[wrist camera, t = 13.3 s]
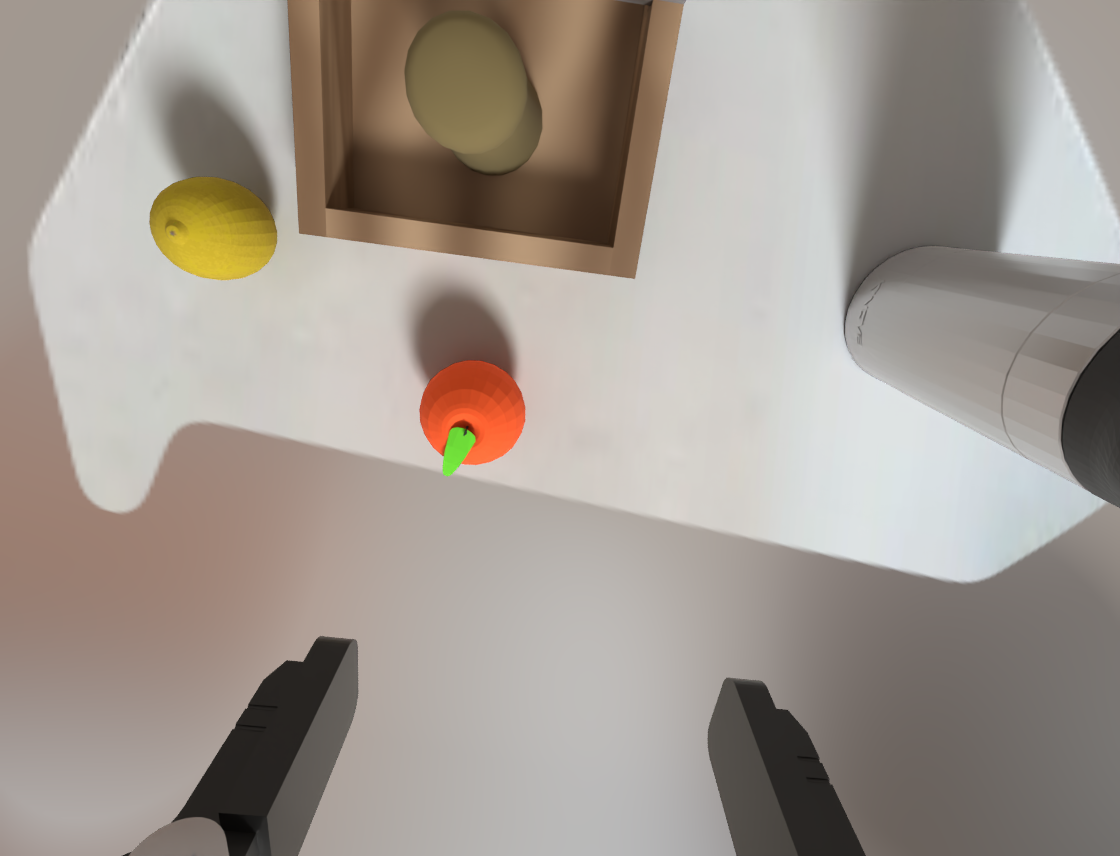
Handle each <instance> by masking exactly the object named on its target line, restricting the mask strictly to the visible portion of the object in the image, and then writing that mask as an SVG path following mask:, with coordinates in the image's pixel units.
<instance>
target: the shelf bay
mask: <svg viewBox="0 0 1120 856" xmlns="http://www.w3.org/2000/svg"><path fill="white" fill-rule="evenodd" d="M287 1H288V21H289V41H290V61H291V81H292V101H293V121H294V141H295V161H296V181H297V201H298V221H299V233H300V234H308V235H315V236H323V237H330V238H337V239H345V240H352V241H359V242H367V243H374V244H382V245H389V246H396V247H404V248H411V249H419V250H426V251H433V252H441V253H448V254H456V255H463V256H470V257H478V258H485V259H492V260H500V261H507V262H515V263H522V264H529V265H537V266H544V267H552V268H559V269H566V270H574V271H581V272H589V273H596V274H603V275H611V276H618V277H625V278H633V279H635V275H636V270H637V264H638V258H639V253H640V247H641V242H642V236H643V230H644V225H645V219H646V213H647V208H648V202H649V197H650V191H651V185H652V180H653V174H654V168H655V163H656V157H657V152H658V146H659V140H660V135H661V129H662V123H663V118H664V112H665V107H666V101H667V95H668V90H669V84H670V78H671V73H672V67H673V62H674V56H675V50H676V45H677V39H678V33H679V28H680V22H681V17H682V11H683V5H684V3H685V1H686V0H287ZM448 11H472V12H475V13H478V14H480V15H483V16H485V17H488V18H490V19H492V20H493V21H494V22H495V23H497V24H498V25H499V26H500V27H501V28H502V29H504V30H505V31H506V32H507V33H508V34H509V36H510V37H511V39H512V41H513V42H514V44H515V45H516V47H517V48H518V50H519V52H520V55H521V58H522V62H523V65H524V68H525V72H526V76H527V78H528V79H529V81H530V82H531V84H532V85H533V87H534V89H535V90H536V92H537V94H538V98H539V101H540V104H541V108H542V132H541V136H540V140H539V143H538V146H537V148H536V149H535V151H534V153H533V154H532V156H531V157H530V159H529V160H528V161H527V162H526V163H525V164H523V165H522V166H521V167H520V168H518V169H517V170H516V171H513V172H510V173H507V174H505V175H484V174H481V173H478V172H475V171H472V170H471V169H469V168H468V167H467V166H465V165H464V164H463V163H461V162H460V161H459V160H458V159H457V158H456V156H455V155H454V153H453V152H452V151H451V149H449V148H446V147H444V146H442V145H441V144H439V143H438V142H437V141H435V140H434V139H433V138H432V137H430V136H429V135H428V134H427V133H426V132H425V131H424V129H423V128H422V127H421V125H420V124H419V122H418V121H417V120H416V118H415V117H414V114H413V112H412V109H411V106H410V104H409V101H408V98H407V95H406V85H405V75H404V69H405V64H406V58H407V53H408V49H409V47H410V45H411V43H412V41H413V39H414V37H415V36H416V34H417V32H418V31H419V30H420V29H421V28H422V27H423V26H424V25H425V24H426V23H427V22H428V21H429V20H430V19H431V18H433V17H435V16H438V15H440V14H443V13H445V12H448Z"/></svg>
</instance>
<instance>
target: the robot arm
mask: <svg viewBox="0 0 1120 856" xmlns="http://www.w3.org/2000/svg"><path fill="white" fill-rule="evenodd" d="M845 338H846V342H847V347H848V350H849V352H850V354H851V356H852V358H853V360H854V361H855V362H856V363H857V365H858V366H859V367H860V368H861V369H862V370H864V371H865V372H867V373H868V374H870V375H871V376H873V377H875V378H876V379H878V380H880V381H882V382H884V383H886V384H888V385H890V386H891V387H893V388H895V389H897V390H899V391H901V392H902V393H904V394H906V395H908V396H910V397H912V398H913V399H915V400H917V401H919V402H921V403H923V404H925V405H927V406H928V407H930V408H932V409H934V410H936V411H938V412H940V413H942V414H944V415H945V416H947V417H949V418H951V419H953V420H955V421H957V422H959V423H961V424H962V425H964V426H966V427H968V428H970V429H972V430H974V431H976V432H977V433H979V434H981V435H983V436H985V437H987V438H989V439H991V440H993V441H994V442H996V443H998V444H1000V445H1002V446H1004V447H1006V448H1008V449H1010V450H1011V451H1013V452H1015V453H1017V454H1019V455H1021V456H1023V457H1025V458H1027V459H1028V460H1030V461H1032V462H1034V463H1036V464H1038V465H1040V466H1042V467H1044V468H1046V469H1048V470H1050V471H1052V472H1054V473H1055V474H1057V475H1059V476H1061V477H1063V478H1065V479H1067V480H1069V481H1070V482H1072V483H1074V484H1076V485H1078V486H1080V487H1082V488H1084V489H1085V490H1087V491H1089V492H1091V493H1092V494H1094V495H1096V496H1098V497H1100V498H1102V499H1103V500H1105V501H1107V502H1109V503H1111V504H1113V505H1115V506H1117V507H1119V508H1120V264H1113V263H1103V262H1093V261H1083V260H1073V259H1062V258H1052V257H1042V256H1032V255H1021V254H1011V253H1001V252H991V251H983V250H973V249H962V248H952V247H942V246H924V247H917V248H913V249H909V250H906V251H903V252H901V253H899V254H897V255H895V256H893V257H891V258H889V259H887V260H886V261H885V262H883V263H882V264H881V265H879V266H878V267H877V268H875V269H874V270H873V271H872V273H871V274H870V275H869V276H868V277H867V278H866V279H865V280H864V281H863V283H862V284H861V285H860V287H859V288H858V290H857V291H856V293H855V295H854V297H853V299H852V302H851V304H850V306H849V309H848V313H847V317H846V322H845ZM357 698H358V647H357V641H356V640H354V639H344V638H334V637H324V636H320V637H318V638H317V639H316V641H315V642H314V644H313V646H312V647H311V649H310V651H309V653H308V654H307V656H306V658H305V660H304V662H298V661H288V660H287V661H285V662H284V663H283V664H282V665H281V666H280V667H278V668H277V669H276V670H275V671H274V672H272V673H271V674H270V675H269V676H268V677H266V678H265V679H264V680H263V682H262V683H261V685H260V686H259V688H258V690H257V691H256V693H255V694H254V696H253V698H252V699H251V701H250V703H249V704H248V708H247V709H245V711H244V712H243V714H242V715H241V717H240V718H239V720H238V721H237V723H236V727H235V729H233V730H232V731H231V733H230V734H229V736H228V738H227V739H226V741H225V742H224V744H223V745H222V747H221V749H220V750H219V752H218V753H217V755H216V756H215V758H214V760H213V761H212V763H211V764H210V766H209V768H208V769H207V771H206V773H205V774H204V776H203V777H202V779H201V781H200V782H199V784H198V785H197V787H196V788H195V790H194V792H193V793H192V795H191V796H190V798H189V800H188V801H187V803H186V805H185V806H184V807H183V809H182V810H181V812H180V813H179V814H178V816H177V817H176V818H175V819H174V820H173V821H172V822H171V823H170V824H168V825H166V826H164V827H162V828H160V829H158V830H157V831H155V832H154V833H152V834H151V835H150V836H149V837H147V838H146V839H145V840H143V841H142V842H141V843H140V844H139V845H138V846H137V847H136V848H135V849H134V850H133V851H132V852H130V853H128V854H125V855H123V856H298V854H299V852H300V849H301V847H302V844H303V842H304V839H305V837H306V834H307V832H308V829H309V827H310V824H311V822H312V819H313V817H314V815H315V812H316V810H317V807H318V805H319V802H320V800H321V797H322V795H323V792H324V790H325V787H326V785H327V782H328V780H329V777H330V775H331V772H332V770H333V768H334V765H335V763H336V760H337V758H338V755H339V753H340V750H341V748H342V745H343V743H344V740H345V738H346V735H347V733H348V730H349V728H350V725H351V723H352V720H353V717H354V713H355V709H356V705H357ZM708 750H709V756H710V761H711V764H712V768H713V772H714V775H715V779H716V783H717V786H718V790H719V793H720V797H721V801H722V804H723V808H724V812H725V815H726V819H727V823H728V826H729V830H730V834H731V837H732V841H733V844H734V848H735V852H736V855H737V856H866V855H865V853H864V851H863V849H862V847H861V845H860V843H859V840H858V838H857V836H856V834H855V832H854V830H853V828H852V826H851V823H850V822H849V819H848V817H847V815H846V813H845V811H844V809H843V807H842V804H841V802H840V800H839V798H838V796H837V794H836V792H835V790H834V788H833V786H832V785H830V783H829V777H828V775H827V773H826V771H825V769H824V767H823V764H822V763H820V762H819V756H818V754H817V752H816V750H815V748H814V745H813V743H812V741H811V739H810V737H809V735H808V733H807V732H806V731H805V729H804V728H803V727H802V726H801V725H800V724H799V722H798V721H797V720H796V719H795V718H794V717H793V716H792V715H791V713H790V712H789V711H788V710H783V709H776V707H775V705H774V703H773V700H772V698H771V696H770V693H769V691H768V689H767V687H766V685H765V684H764V683H763V682H762V681H756V680H747V679H736V678H726V679H725V680H724V682H723V685H722V688H721V691H720V694H719V697H718V700H717V703H716V706H715V709H714V712H713V715H712V718H711V722H710V725H709V729H708Z"/></svg>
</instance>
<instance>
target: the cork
mask: <svg viewBox="0 0 1120 856" xmlns="http://www.w3.org/2000/svg"><path fill="white" fill-rule="evenodd" d="M404 75H405V85H406V95H407V98H408V101H409V104H410V106H411V109H412V112H413V114H414V117H415V118H416V120H417V121H418V122H419V124H420V125H421V127H422V128H423V129H424V131H425V132H426V133H427V134H428V135H429V136H430V137H432V138H433V139H434V140H435V141H437V142H438V143H439V144H441V145H442V146H444V147H446V148H449V149H451V151H452V152H453V153H454V155H455V156H456V158H457V159H458V160H459V161H460V162H461V163H463V164H464V165H465V166H467V167H468V168H469V169H471V170H472V171H475V172H478V173H481V174H484V175H505V174H507V173H510V172H513V171H516V170H517V169H518V168H520V167H521V166H522V165H523V164H525V163H526V162H527V161H528V160H529V159H530V157H531V156H532V154H533V153H534V151H535V149H536V148H537V146H538V143H539V140H540V136H541V132H542V108H541V104H540V101H539V98H538V94H537V92H536V90H535V89H534V87H533V85H532V84H531V82H530V81H529V79H528V78H527V76H526V72H525V68H524V65H523V62H522V58H521V55H520V52H519V50H518V48H517V47H516V45H515V44H514V42H513V41H512V39H511V37H510V36H509V34H508V33H507V32H506V31H505V30H504V29H502V28H501V27H500V26H499V25H498V24H497V23H495V22H494V21H493V20H492V19H490V18H488V17H485V16H483V15H480V14H478V13H475V12H472V11H448V12H445V13H443V14H440V15H438V16H435V17H433V18H431V19H430V20H429V21H428V22H427V23H426V24H425V25H424V26H423V27H422V28H421V29H420V30H419V31H418V32H417V34H416V36H415V37H414V39H413V41H412V43H411V45H410V47H409V49H408V53H407V58H406V64H405V69H404Z"/></svg>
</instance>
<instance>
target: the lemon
mask: <svg viewBox="0 0 1120 856" xmlns="http://www.w3.org/2000/svg"><path fill="white" fill-rule="evenodd" d="M150 228H151V233H152V236H153V238H154V240H155V242H156V245H157V246H158V247H159V249H160V250H161V252H162V253H163V254H164V255H165V256H166V257H167V258H168V259H169V260H170V261H171V262H172V263H173V264H175V265H176V266H178V267H179V268H181V269H183V270H184V271H186V272H189V273H191V274H194V275H197V276H199V277H203V278H209V279H217V280H231V279H239V278H244V277H246V276H248V275H251V274H253V273H255V272H257V271H259V270H260V269H261V268H262V267H264V266H265V265H266V264H267V263H268V262H269V260H270V259H271V257H272V255H273V254H274V251H275V248H276V244H277V230H276V226H275V222H274V219H273V217H272V215H271V213H270V211H269V209H268V208H267V207H266V206H265V204H264V203H263V202H262V201H261V199H259V198H258V197H257V196H256V195H255V194H254V193H252V192H251V191H250V190H248V189H246V188H244V187H243V186H241V185H239V184H237V183H235V182H232V181H228V180H225V179H221V178H217V177H192V178H188V179H185V180H182V181H178V182H175V183H173V184H171V185H170V186H168V187H167V188H166V189H164V190H163V191H161V192H160V194H159V195H158V196H157V198H156V199H155V200H154V202H153V205H152V208H151V211H150Z"/></svg>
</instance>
